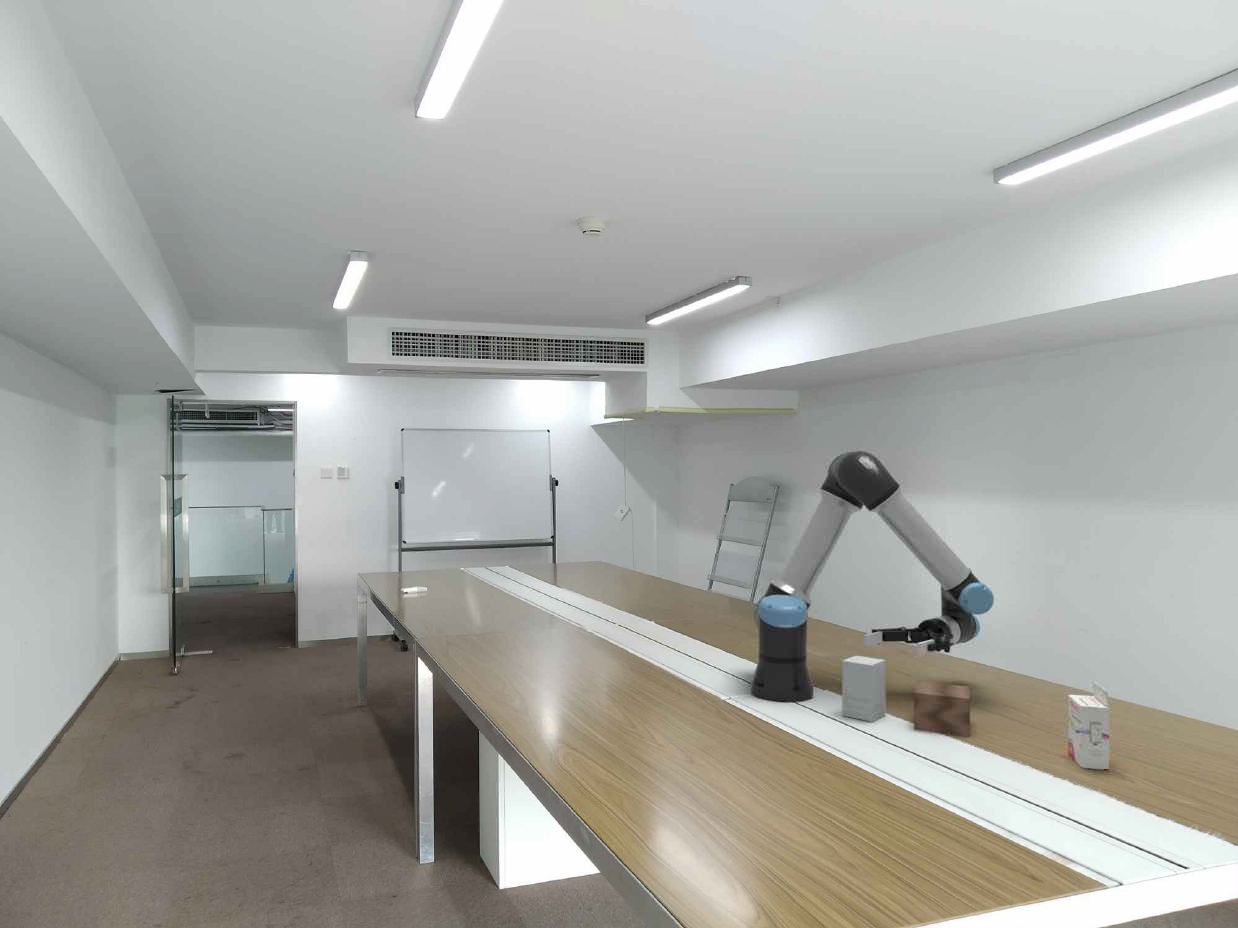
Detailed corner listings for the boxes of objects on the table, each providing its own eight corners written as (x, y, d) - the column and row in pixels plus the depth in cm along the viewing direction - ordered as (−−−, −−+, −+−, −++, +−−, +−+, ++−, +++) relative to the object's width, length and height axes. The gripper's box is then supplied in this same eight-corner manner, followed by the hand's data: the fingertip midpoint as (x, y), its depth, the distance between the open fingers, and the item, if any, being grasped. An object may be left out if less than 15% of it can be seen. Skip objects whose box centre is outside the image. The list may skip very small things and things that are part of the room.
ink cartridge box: (1066, 753, 165) (1066, 678, 166) (1094, 755, 164) (1094, 680, 165) (1081, 768, 157) (1081, 689, 157) (1110, 770, 156) (1110, 691, 156)
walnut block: (913, 730, 180) (914, 692, 180) (917, 716, 190) (917, 681, 190) (969, 737, 176) (970, 698, 176) (969, 722, 186) (970, 686, 186)
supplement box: (886, 715, 190) (887, 659, 190) (871, 722, 184) (872, 664, 185) (856, 709, 195) (856, 654, 195) (840, 715, 189) (841, 659, 190)
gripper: (987, 656, 200) (942, 670, 187) (893, 640, 219) (845, 652, 205) (986, 624, 201) (941, 636, 187) (892, 612, 219) (845, 621, 206)
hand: (891, 644), depth 196 cm, fingers open, 13 cm apart
